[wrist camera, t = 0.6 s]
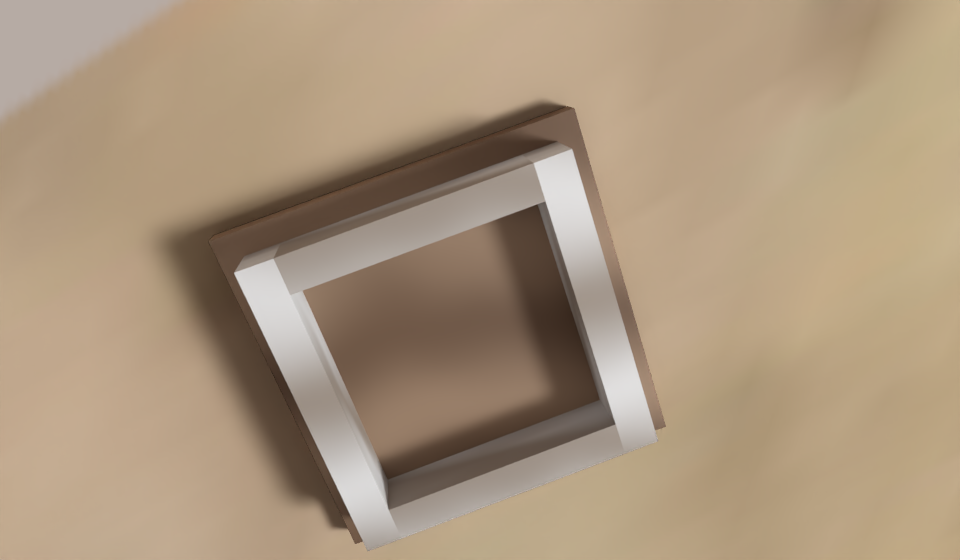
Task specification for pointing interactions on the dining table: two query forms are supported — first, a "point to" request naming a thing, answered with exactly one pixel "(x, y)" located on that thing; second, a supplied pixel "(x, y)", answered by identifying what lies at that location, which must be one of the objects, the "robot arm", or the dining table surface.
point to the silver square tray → (449, 328)
